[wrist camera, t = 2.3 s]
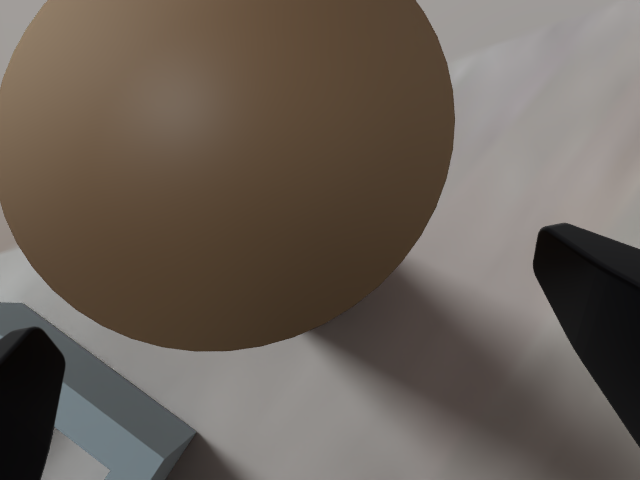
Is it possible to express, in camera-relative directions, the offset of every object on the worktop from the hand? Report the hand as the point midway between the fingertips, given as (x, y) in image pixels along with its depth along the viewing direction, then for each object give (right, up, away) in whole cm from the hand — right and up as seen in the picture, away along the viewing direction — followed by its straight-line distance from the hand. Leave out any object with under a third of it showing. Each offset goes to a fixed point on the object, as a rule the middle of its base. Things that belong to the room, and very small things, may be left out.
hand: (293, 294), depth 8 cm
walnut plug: (0, 0, +9) cm, 9 cm away
